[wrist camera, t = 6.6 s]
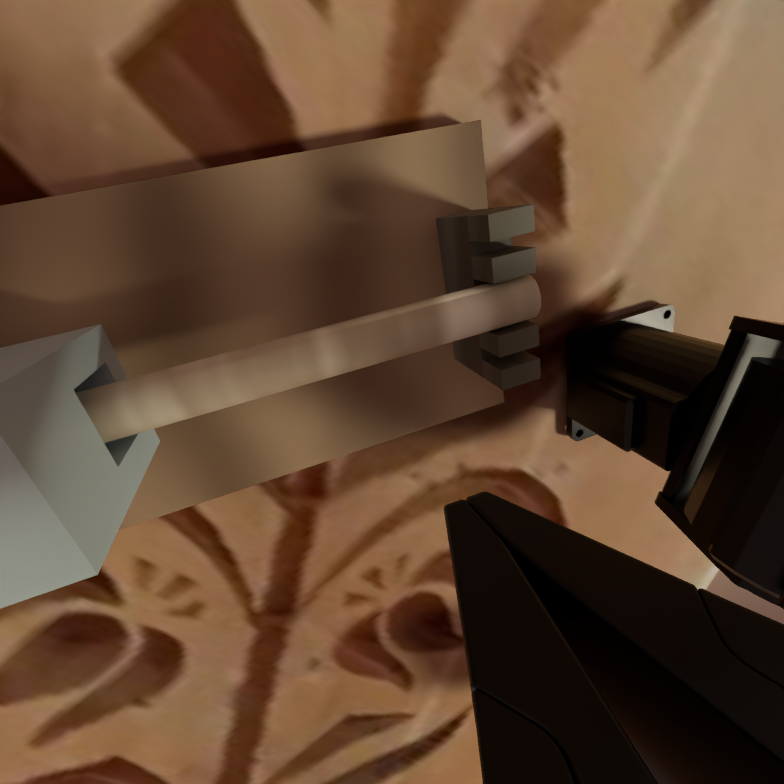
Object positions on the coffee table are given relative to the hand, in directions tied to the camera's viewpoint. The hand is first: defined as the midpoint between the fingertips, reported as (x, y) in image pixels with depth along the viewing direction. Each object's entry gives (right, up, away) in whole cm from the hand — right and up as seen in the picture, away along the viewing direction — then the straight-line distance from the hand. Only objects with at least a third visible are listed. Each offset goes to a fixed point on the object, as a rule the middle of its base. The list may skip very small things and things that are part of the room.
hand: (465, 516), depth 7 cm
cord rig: (-9, +4, +9) cm, 13 cm away
